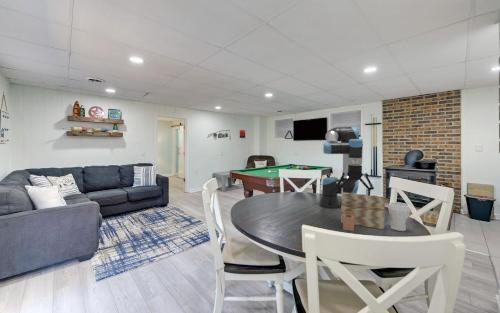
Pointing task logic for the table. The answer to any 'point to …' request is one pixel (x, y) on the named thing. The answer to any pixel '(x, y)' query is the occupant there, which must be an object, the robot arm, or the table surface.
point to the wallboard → (364, 209)
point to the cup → (398, 215)
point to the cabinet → (348, 220)
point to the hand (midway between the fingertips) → (354, 199)
